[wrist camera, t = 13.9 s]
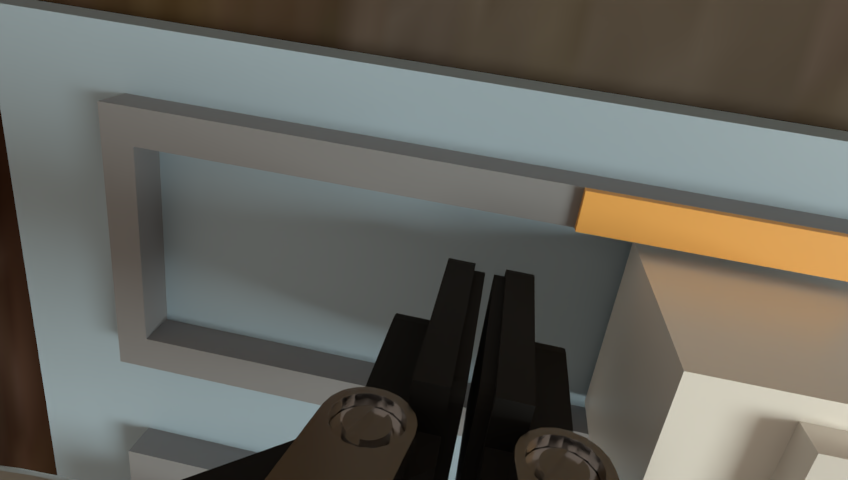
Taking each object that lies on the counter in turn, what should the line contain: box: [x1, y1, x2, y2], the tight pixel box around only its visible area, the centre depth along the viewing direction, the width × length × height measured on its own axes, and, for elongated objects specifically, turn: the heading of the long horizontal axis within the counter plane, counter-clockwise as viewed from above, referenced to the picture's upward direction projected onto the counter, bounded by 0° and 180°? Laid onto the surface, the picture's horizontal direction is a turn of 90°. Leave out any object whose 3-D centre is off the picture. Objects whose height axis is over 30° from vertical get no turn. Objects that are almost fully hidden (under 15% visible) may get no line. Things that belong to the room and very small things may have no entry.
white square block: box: [585, 242, 848, 480], centre depth 10 cm, size 4×4×5 cm
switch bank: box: [0, 0, 848, 480], centre depth 15 cm, size 18×22×2 cm
